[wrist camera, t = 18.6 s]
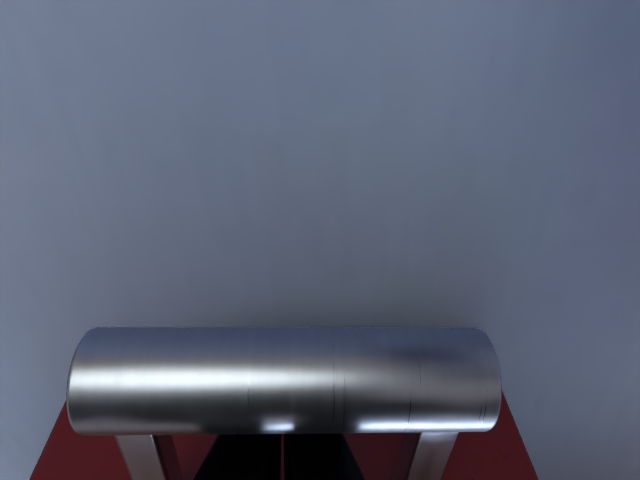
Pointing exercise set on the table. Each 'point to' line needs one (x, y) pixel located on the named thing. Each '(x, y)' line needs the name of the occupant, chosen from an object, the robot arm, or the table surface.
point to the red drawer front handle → (285, 401)
